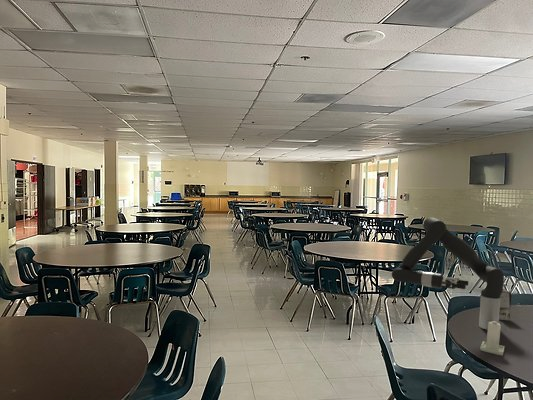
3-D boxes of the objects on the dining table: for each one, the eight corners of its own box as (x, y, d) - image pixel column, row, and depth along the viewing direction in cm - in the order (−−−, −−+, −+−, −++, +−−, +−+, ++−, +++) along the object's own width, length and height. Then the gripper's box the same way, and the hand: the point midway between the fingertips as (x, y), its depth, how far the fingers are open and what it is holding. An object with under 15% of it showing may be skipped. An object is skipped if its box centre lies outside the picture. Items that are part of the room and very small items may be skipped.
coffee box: (510, 320, 229) (512, 293, 229) (498, 319, 231) (499, 292, 230) (504, 315, 238) (505, 289, 238) (492, 314, 240) (494, 288, 239)
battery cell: (486, 345, 190) (489, 319, 189) (499, 348, 187) (501, 321, 186) (485, 348, 186) (487, 322, 185) (497, 352, 183) (500, 324, 182)
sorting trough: (482, 344, 193) (482, 341, 193) (504, 349, 188) (504, 346, 188) (480, 350, 185) (480, 347, 185) (502, 355, 180) (502, 352, 180)
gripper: (429, 275, 200) (464, 280, 191) (435, 270, 212) (469, 275, 202) (428, 290, 200) (464, 295, 191) (434, 284, 212) (468, 289, 203)
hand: (466, 285), depth 197 cm, fingers open, 8 cm apart
